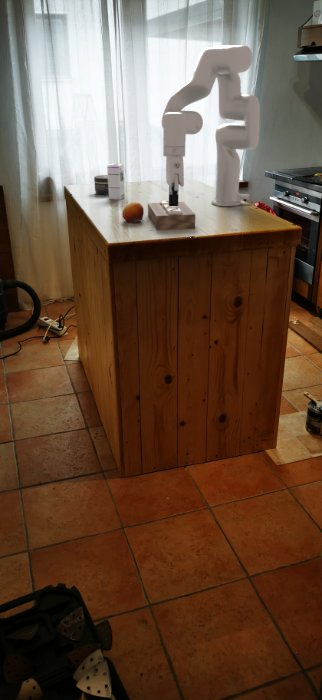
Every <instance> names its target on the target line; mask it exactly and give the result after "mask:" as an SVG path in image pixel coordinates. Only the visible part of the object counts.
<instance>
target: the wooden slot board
mask: <svg viewBox="0 0 322 700" xmlns="http://www.w3.org/2000/svg"><path fill="white" fill-rule="evenodd" d="M178 208H179V209H180V210H181V214H171V215H168V214H167V210H164V206H161V202H148V203H147V217H148V218H149V219H148V220H150V221H151V224H152V225H153V227H154V229H155V230H156V231H163V230H164V231H165V230H166V231H167V230H187V229H188V230H189V229H190V230H192V229H196V213H195V211H193V210H192V209H191V207H189V206H188V205H187V204H186V203H185V202H184V201H178Z"/></svg>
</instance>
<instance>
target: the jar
mask: <svg viewBox="0 0 322 700" xmlns="http://www.w3.org/2000/svg"><path fill="white" fill-rule="evenodd" d="M93 180H94V181H93V182H94V191H95V194H96V195H99V196H109V189H108V174H100V175H95V176H94V178H93Z"/></svg>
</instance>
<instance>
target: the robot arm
mask: <svg viewBox="0 0 322 700" xmlns="http://www.w3.org/2000/svg"><path fill="white" fill-rule="evenodd" d="M196 60H197V61H196V62H195V65H194V67H193V69H192V73H191V74H190V77H189V80H188V82H186V84H184V85H183V86H181V87H180V88H179V89H178V90H177V91H175V93H173V95H171V96H170V98H169V99H168V101H167V103H166V106H165V108H164V111H163V114H162V117H161V126H162V129H163V139H162V140H163V142H162V143H163V144H162V149H163V150H162V152H163V154H162V155H163V157H166V158H165V181H166V182H165V183H166V184H167V185H168V201H169V206H178V202H179V192H180V191H179V189H180V188H179V187H180V186H181V187H184V185H185V180H184V179H185V173H184V157H186V135H191V136H192V135H195V134H198V133H200V131H201V130H202V128H203V126H204V120H203V117H202V115H201V113H199V112H197V111H194V110H183V109H185V108H186V107H187V106H189V105H191V104H194V103H195V102H199V101H201V100H203V99H205V98H207V97H208V96H209V95H210V94H211V92H212V90H213V87H214V85H215V82H216V80H217V83H218V84H217V85H218V113H219V116H220V118H221V119H223V120H225V121H235V122H236V121H238V122H244V123H230V122H229V123H223V124H220V125H219V126H218V127H217V128H216V130H215V144H216V176H215V177H216V179H215V198H213V199H212V200H211V205H214V206H217V207H237V206H240V205H242V200H244V199H245V200H249V199H250V194H248V193H247V194H245V193H240V191H239V190H240V189H239V187H240V170H241V169H240V168H241V158H240V155H239V153H238V151H237V150H245V151H247V150H248V151H252V150H254V149H256V148H257V146H258V144H259V138H260V115H261V114H260V110H261V108H260V107H261V106H260V101H259V99H258V96H257V95H254V94H250V93H249V94H248V93H245V94H244V93H242V91H241V89H242V87H241V80H242V79H241V77H240V75H239V74H240V73H245V72H247V71H249V69H250V67H251V65H252V62H253V52H252V49H251V48H250V47H249V46H248V45H217V46H212V47H205V48H204V49H202V50H201V52H200V53H199V55H198V58H197V59H196Z"/></svg>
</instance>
